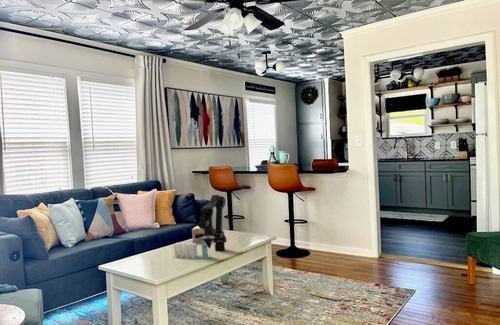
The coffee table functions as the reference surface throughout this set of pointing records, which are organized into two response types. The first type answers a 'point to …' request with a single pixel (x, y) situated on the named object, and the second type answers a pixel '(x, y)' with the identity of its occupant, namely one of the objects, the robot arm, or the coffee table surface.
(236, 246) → the coffee table surface
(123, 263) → the coffee table surface
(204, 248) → the domino
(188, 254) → the domino
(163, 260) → the coffee table surface
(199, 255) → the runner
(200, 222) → the robot arm
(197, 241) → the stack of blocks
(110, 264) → the coffee table surface
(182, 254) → the domino
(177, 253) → the domino
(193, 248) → the domino
